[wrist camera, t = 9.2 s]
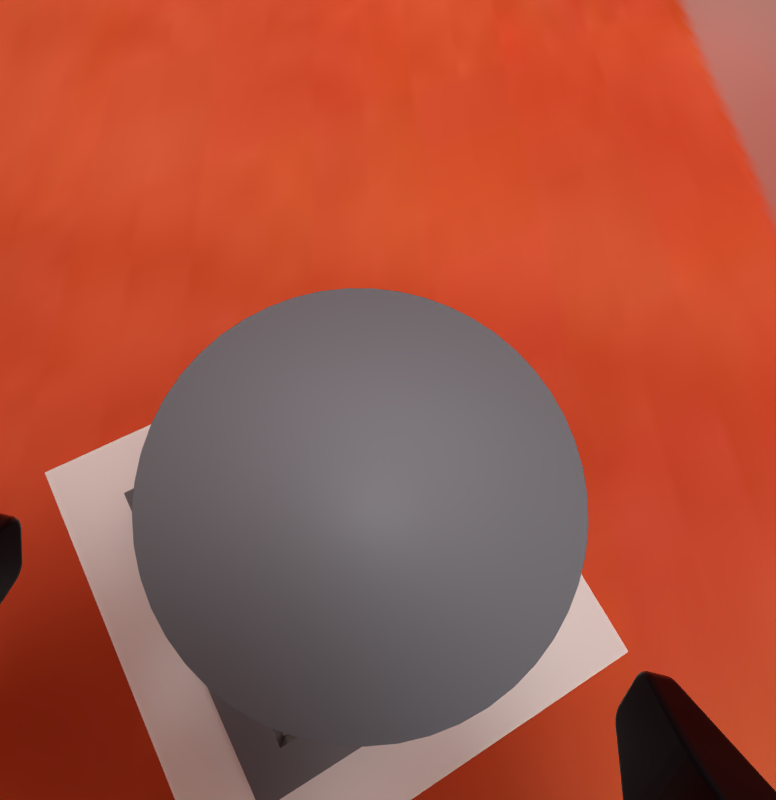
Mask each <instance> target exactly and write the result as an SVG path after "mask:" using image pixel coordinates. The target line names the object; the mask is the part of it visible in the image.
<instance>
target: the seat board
mask: <svg viewBox="0 0 776 800" xmlns="http://www.w3.org/2000/svg"><path fill="white" fill-rule="evenodd" d="M150 426H151V425H148V426H146V427H144V428H142V429H140V430H138V431H135V432H133V433H131V434H129V435H127V436H124V437H122V438H120V439H118V440H116V441H113V442H111V443H109V444H107V445H105V446H102V447H100V448H98V449H96V450H94V451H91V452H89V453H87V454H85V455H83V456H80V457H78V458H76V459H74V460H72V461H69V462H67V463H65V464H63V465H61V466H58V467H56V468H54V469H52V470H50V471H47V472H45V475H46V477H47V480H48V482H49V485H50V487H51V490H52V492H53V495H54V497H55V500H56V502H57V505H58V507H59V510H60V512H61V515H62V517H63V520H64V522H65V525H66V527H67V530H68V533H69V535H70V538H71V540H72V543H73V545H74V548H75V550H76V553H77V555H78V558H79V560H80V563H81V565H82V568H83V570H84V573H85V575H86V578H87V580H88V583H89V585H90V588H91V590H92V593H93V595H94V598H95V600H96V603H97V605H98V608H99V610H100V613H101V615H102V618H103V620H104V623H105V625H106V628H107V630H108V633H109V635H110V638H111V640H112V643H113V645H114V648H115V650H116V653H117V656H118V658H119V661H120V663H121V666H122V668H123V671H124V673H125V676H126V678H127V681H128V683H129V686H130V688H131V691H132V693H133V696H134V698H135V701H136V703H137V706H138V708H139V711H140V713H141V716H142V718H143V721H144V723H145V726H146V728H147V731H148V733H149V736H150V738H151V741H152V743H153V746H154V748H155V751H156V753H157V756H158V758H159V761H160V763H161V766H162V768H163V771H164V773H165V776H166V779H167V781H168V784H169V786H170V789H171V791H172V794H173V796H174V799H175V800H411V799H413V798H414V797H416V796H417V795H419V794H420V793H422V792H423V791H425V790H426V789H428V788H429V787H431V786H432V785H433V784H435V783H436V782H438V781H439V780H441V779H442V778H444V777H445V776H447V775H448V774H450V773H451V772H453V771H454V770H455V769H457V768H458V767H460V766H461V765H463V764H464V763H466V762H467V761H469V760H470V759H472V758H473V757H475V756H476V755H477V754H479V753H480V752H482V751H483V750H485V749H486V748H488V747H489V746H491V745H492V744H494V743H495V742H497V741H498V740H499V739H501V738H502V737H504V736H505V735H507V734H508V733H510V732H511V731H513V730H514V729H516V728H517V727H519V726H520V725H521V724H523V723H524V722H526V721H527V720H529V719H530V718H532V717H533V716H535V715H536V714H538V713H539V712H541V711H542V710H543V709H545V708H546V707H548V706H549V705H551V704H552V703H554V702H555V701H557V700H558V699H560V698H561V697H563V696H564V695H565V694H567V693H568V692H570V691H571V690H573V689H574V688H576V687H577V686H579V685H580V684H582V683H583V682H585V681H586V680H588V679H589V678H590V677H592V676H593V675H595V674H596V673H598V672H599V671H601V670H602V669H604V668H605V667H607V666H608V665H610V664H611V663H612V662H614V661H615V660H617V659H618V658H620V657H621V656H623V655H624V654H626V653H627V652H628V650H627V649H626V647H625V645H624V644H623V642H622V640H621V639H620V637H619V636H618V634H617V632H616V631H615V629H614V627H613V626H612V624H611V622H610V621H609V619H608V617H607V616H606V614H605V612H604V611H603V609H602V608H601V606H600V604H599V603H598V601H597V599H596V598H595V596H594V594H593V593H592V591H591V589H590V588H589V586H588V585H587V583H586V581H585V580H584V578H583V576H582V575H581V577H580V581H579V585H578V587H577V590H576V593H575V596H574V598H573V601H572V604H571V606H570V609H569V612H568V614H567V616H566V618H565V619H564V621H563V623H562V625H561V627H560V629H559V631H558V633H557V635H556V636H555V638H554V640H553V641H552V643H551V644H550V645H549V647H548V648H547V650H546V651H545V652H544V654H543V655H542V657H541V658H540V659H539V661H538V662H537V664H536V665H535V666H534V667H533V668H532V669H531V670H530V671H529V672H528V673H527V674H526V675H525V676H524V677H523V678H522V680H521V681H520V682H519V683H518V684H517V685H516V686H515V687H514V688H513V689H511V690H510V691H509V692H508V693H506V694H505V695H504V696H502V697H501V698H500V699H499V700H497V701H496V702H495V703H494V704H492V705H491V706H490V707H488V708H487V709H485V710H483V711H482V712H480V713H478V714H476V715H475V716H473V717H471V718H470V719H468V720H466V721H464V722H463V723H461V724H459V725H456V726H454V727H451V728H449V729H446V730H444V731H441V732H439V733H436V734H434V735H431V736H428V737H424V738H419V739H415V740H411V741H407V742H403V743H399V744H389V745H377V746H366V747H362V746H345V745H330V744H325V743H321V742H316V741H311V740H306V739H302V738H297V737H294V736H292V735H289V734H286V733H284V732H281V731H278V730H276V729H273V728H270V727H268V726H265V725H263V724H262V723H260V722H258V721H256V720H254V719H253V718H251V717H249V716H247V715H245V714H244V713H242V712H240V711H238V710H236V709H235V708H234V707H232V706H231V705H230V704H228V703H227V702H226V701H224V700H223V699H222V698H221V697H219V696H218V695H217V694H215V693H214V692H213V691H211V690H210V689H209V688H208V687H207V686H206V685H205V684H204V683H203V682H202V681H201V680H200V679H199V678H198V677H197V676H196V675H195V674H194V673H193V672H192V671H191V670H190V669H189V667H188V666H187V665H186V664H185V663H184V662H183V660H182V659H181V657H180V656H179V655H178V653H177V652H176V650H175V649H174V648H173V646H172V645H171V644H170V642H169V641H168V639H167V638H166V636H165V634H164V632H163V631H162V629H161V627H160V625H159V623H158V621H157V619H156V617H155V615H154V613H153V611H152V609H151V607H150V604H149V602H148V599H147V596H146V593H145V590H144V587H143V585H142V582H141V579H140V575H139V570H138V565H137V560H136V555H135V550H134V543H133V526H132V505H133V492H134V482H135V477H136V473H137V468H138V463H139V458H140V454H141V451H142V448H143V445H144V442H145V440H146V437H147V434H148V431H149V428H150Z"/></svg>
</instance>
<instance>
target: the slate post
mask: <svg viewBox="0 0 776 800" xmlns="http://www.w3.org/2000/svg"><path fill="white" fill-rule="evenodd" d="M132 526H133V543H134V550H135V555H136V560H137V565H138V570H139V575H140V579H141V582H142V585H143V587H144V590H145V593H146V596H147V599H148V602H149V604H150V607H151V609H152V611H153V613H154V615H155V617H156V619H157V621H158V623H159V625H160V627H161V629H162V631H163V632H164V634H165V636H166V638H167V639H168V641H169V642H170V644H171V645H172V646H173V648H174V649H175V650H176V652H177V653H178V655H179V656H180V657H181V659H182V660H183V662H184V663H185V664H186V665H187V666H188V667H189V669H190V670H191V671H192V672H193V673H194V674H195V675H196V676H197V677H198V678H199V679H200V680H201V681H202V682H203V683H204V684H205V685H206V686H207V687H208V688H209V689H210V690H211V691H213V692H214V693H215V694H217V695H218V696H219V697H221V698H222V699H223V700H224V701H226V702H227V703H228V704H230V705H231V706H232V707H234V708H235V709H236V710H238V711H240V712H242V713H244V714H245V715H247V716H249V717H251V718H253V719H254V720H256V721H258V722H260V723H262V724H263V725H265V726H268V727H270V728H273V729H276V730H278V731H281V732H284V733H286V734H289V735H292V736H294V737H297V738H302V739H306V740H311V741H316V742H321V743H325V744H330V745H345V746H362V747H366V746H377V745H389V744H399V743H403V742H407V741H411V740H415V739H419V738H424V737H428V736H431V735H434V734H436V733H439V732H441V731H444V730H446V729H449V728H451V727H454V726H456V725H459V724H461V723H463V722H464V721H466V720H468V719H470V718H471V717H473V716H475V715H476V714H478V713H480V712H482V711H483V710H485V709H487V708H488V707H490V706H491V705H492V704H494V703H495V702H496V701H497V700H499V699H500V698H501V697H502V696H504V695H505V694H506V693H508V692H509V691H510V690H511V689H513V688H514V687H515V686H516V685H517V684H518V683H519V682H520V681H521V680H522V678H523V677H524V676H525V675H526V674H527V673H528V672H529V671H530V670H531V669H532V668H533V667H534V666H535V665H536V664H537V662H538V661H539V659H540V658H541V657H542V655H543V654H544V652H545V651H546V650H547V648H548V647H549V645H550V644H551V643H552V641H553V640H554V638H555V636H556V635H557V633H558V631H559V629H560V627H561V625H562V623H563V621H564V619H565V618H566V616H567V614H568V612H569V609H570V606H571V604H572V601H573V598H574V596H575V593H576V590H577V587H578V585H579V581H580V577H581V572H582V568H583V563H584V559H585V555H586V544H587V534H588V502H587V491H586V485H585V479H584V472H583V467H582V463H581V460H580V457H579V453H578V450H577V446H576V443H575V440H574V437H573V435H572V433H571V430H570V428H569V426H568V423H567V421H566V419H565V416H564V414H563V413H562V411H561V409H560V407H559V406H558V404H557V402H556V400H555V399H554V397H553V395H552V393H551V392H550V390H549V389H548V388H547V386H546V385H545V384H544V382H543V381H542V380H541V378H540V377H539V376H538V374H537V373H536V372H535V370H534V369H533V368H532V367H531V366H530V365H529V364H528V363H527V362H526V361H525V360H524V359H523V358H522V356H521V355H520V354H519V353H518V352H517V351H516V350H515V349H514V348H512V347H511V346H510V345H509V344H508V343H506V342H505V341H504V340H503V339H502V338H500V337H499V336H498V335H497V334H496V333H494V332H493V331H491V330H490V329H488V328H487V327H485V326H483V325H482V324H480V323H479V322H477V321H476V320H474V319H473V318H471V317H469V316H467V315H465V314H463V313H461V312H459V311H457V310H455V309H453V308H451V307H449V306H446V305H443V304H440V303H438V302H435V301H432V300H429V299H427V298H423V297H419V296H415V295H411V294H407V293H403V292H398V291H389V290H381V289H350V288H346V289H338V290H329V291H320V292H316V293H312V294H307V295H303V296H299V297H295V298H292V299H289V300H286V301H284V302H281V303H278V304H275V305H273V306H270V307H267V308H266V309H264V310H262V311H260V312H258V313H256V314H254V315H252V316H250V317H248V318H246V319H244V320H242V321H241V322H240V323H238V324H237V325H235V326H234V327H232V328H231V329H229V330H228V331H226V332H225V333H223V334H222V335H220V336H219V337H218V338H217V339H216V340H215V341H214V342H212V343H211V344H210V345H209V346H208V347H207V348H206V349H204V350H203V351H202V352H201V353H200V354H199V355H198V356H197V357H196V358H195V359H194V360H193V362H192V363H191V364H190V365H189V366H188V367H187V368H186V369H185V371H184V372H183V373H182V374H181V375H180V377H179V378H178V379H177V381H176V382H175V384H174V385H173V387H172V388H171V390H170V391H169V393H168V394H167V395H166V397H165V398H164V400H163V402H162V404H161V406H160V408H159V410H158V412H157V414H156V416H155V418H154V420H153V422H152V424H151V426H150V428H149V431H148V434H147V437H146V440H145V442H144V445H143V448H142V451H141V454H140V458H139V463H138V468H137V473H136V477H135V482H134V492H133V505H132Z"/></svg>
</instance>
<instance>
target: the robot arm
mask: <svg viewBox="0 0 776 800" xmlns="http://www.w3.org/2000/svg"><path fill="white" fill-rule="evenodd" d="M21 566H22V540H21V524H20V522H19V520H18V519H17V518H15V517H12V516H8V515H4V514H0V604H1V602H2V601H3V599H4V598H5V596H6V595H7V593H8V592H9V590H10V589H11V587H12V586H13V584H14V583H15V581H16V579H17V578H18V575H19V573H20V570H21ZM616 734H617V744H618V753H619V763H620V773H621V783H622V793H623V800H776V791H775V790H774V789H773V788H772V787H771V786H770V785H769V784H768V782H767V781H766V780H765V779H764V778H763V777H762V776H761V775H760V774H759V773H758V771H757V770H756V769H755V768H754V767H753V766H752V765H751V764H750V763H749V762H748V761H747V759H746V758H745V757H744V756H743V755H742V754H741V753H740V752H739V751H738V750H737V748H736V747H735V746H734V745H733V744H732V743H731V742H730V741H729V740H728V739H727V737H726V736H725V735H724V734H723V733H722V732H721V731H720V730H719V729H718V728H717V726H716V725H715V724H714V723H713V722H712V721H711V720H710V719H709V718H708V717H707V715H706V714H705V713H704V712H703V711H702V710H701V709H700V708H699V707H698V706H697V704H696V703H695V702H694V701H693V700H692V699H691V698H690V697H689V696H688V695H687V694H686V692H685V691H684V690H683V689H682V688H681V687H680V686H679V685H678V684H677V683H676V682H675V681H674V680H673V679H672V678H670V677H668V676H664V675H660V674H656V673H652V672H648V671H643V672H641V673H639V674H638V675H637V677H636V678H635V680H634V682H633V683H632V685H631V687H630V688H629V690H628V692H627V693H626V695H625V697H624V698H623V700H622V702H621V703H620V705H619V707H618V710H617V714H616Z"/></svg>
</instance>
